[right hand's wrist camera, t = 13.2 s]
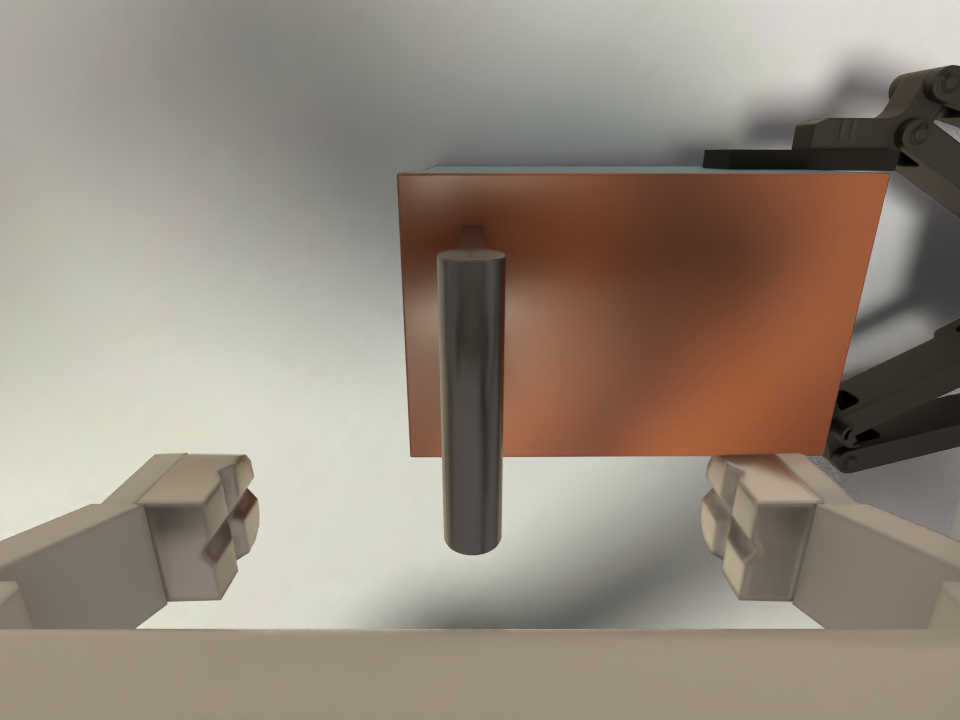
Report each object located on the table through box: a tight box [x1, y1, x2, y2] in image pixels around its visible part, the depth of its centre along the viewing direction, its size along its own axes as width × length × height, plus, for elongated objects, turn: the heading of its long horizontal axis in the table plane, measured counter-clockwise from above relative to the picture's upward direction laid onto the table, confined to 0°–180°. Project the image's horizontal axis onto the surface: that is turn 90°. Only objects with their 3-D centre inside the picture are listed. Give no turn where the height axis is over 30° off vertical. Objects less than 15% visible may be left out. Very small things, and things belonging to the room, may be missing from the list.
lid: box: [397, 172, 890, 555], centre depth 16 cm, size 15×10×8 cm, turn 90°
